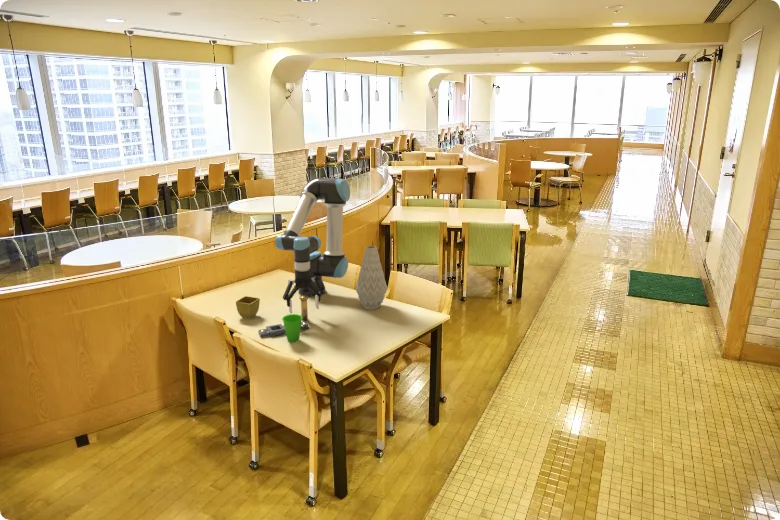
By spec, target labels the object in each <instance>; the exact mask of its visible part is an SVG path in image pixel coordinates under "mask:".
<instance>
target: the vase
mask: <svg viewBox="0 0 780 520" xmlns="http://www.w3.org/2000/svg"><path fill="white" fill-rule="evenodd" d="M362 257H363V258H362V262H361V266H360V269H359V274H358V278H357V282H356V285H355V291H356V293H357V295H358V296H357V297H358V300H359V302H360V303H361V305H362V307H363V309H365V310H369V311H370V310H378V309H379V308H380V307H381V306H382V303H383V301H384V299H385V295H386V293H387V291H388V285H387V282H386V279H385V273H384V271H383V267H382V263H381V260H380V255H379V251H378V248H377V246H376V245H368V246H367V245H366V246H365V249H364V253H363V256H362Z"/></svg>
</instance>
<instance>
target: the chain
mask: <svg viewBox="0 0 780 520" xmlns="http://www.w3.org/2000/svg"><path fill="white" fill-rule="evenodd" d="M265 327H266V328H262V329H258V331H257V332H258V335H259V337H260V338H267V337H270V338H272V337H276V336H277V337H278V336H282V335H286V331H285V326H284V324H283V325H282V323H280V324H272V325H268V326H267V325H266V326H265ZM303 330H309V322H308V321H301V329H300V331H303Z"/></svg>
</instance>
